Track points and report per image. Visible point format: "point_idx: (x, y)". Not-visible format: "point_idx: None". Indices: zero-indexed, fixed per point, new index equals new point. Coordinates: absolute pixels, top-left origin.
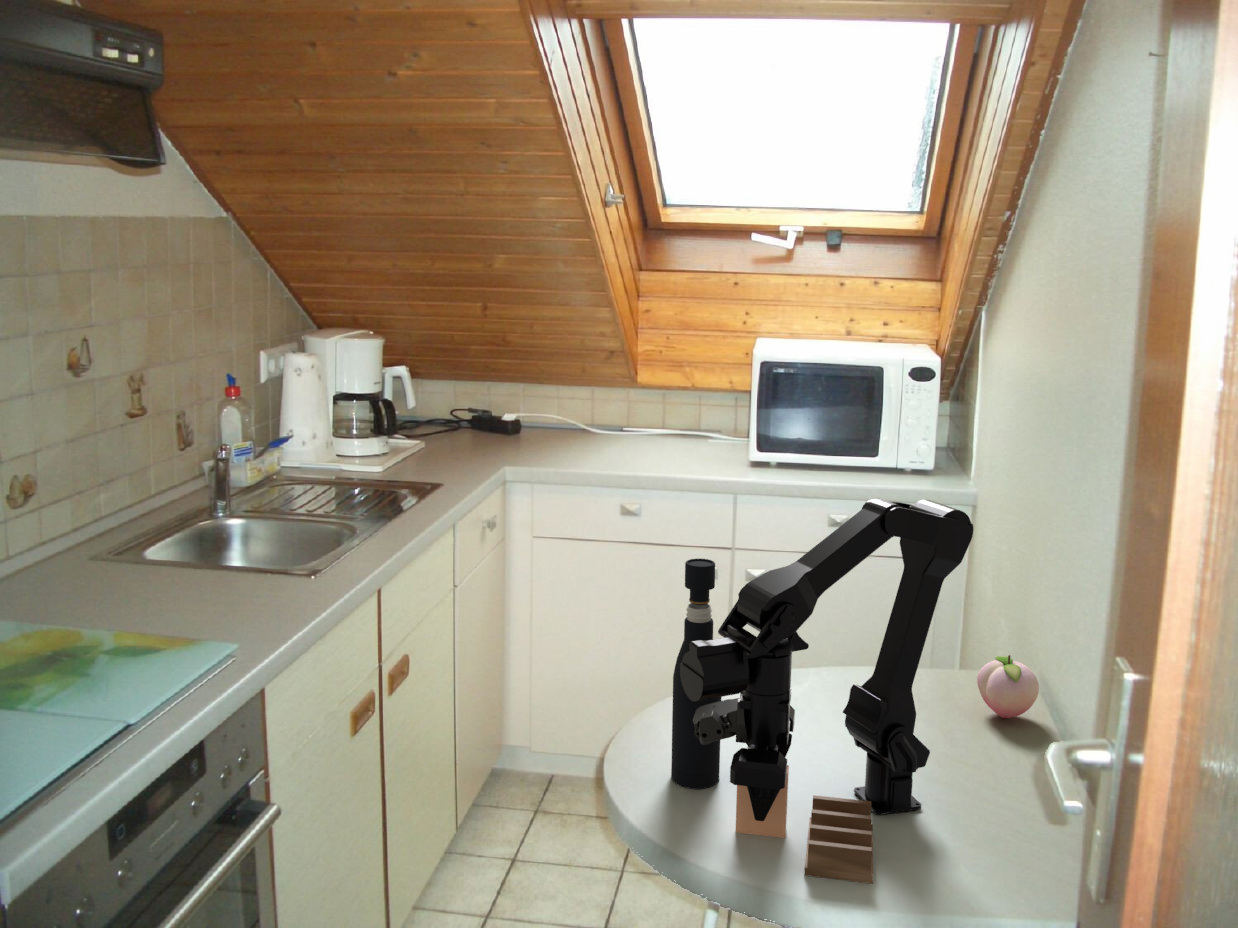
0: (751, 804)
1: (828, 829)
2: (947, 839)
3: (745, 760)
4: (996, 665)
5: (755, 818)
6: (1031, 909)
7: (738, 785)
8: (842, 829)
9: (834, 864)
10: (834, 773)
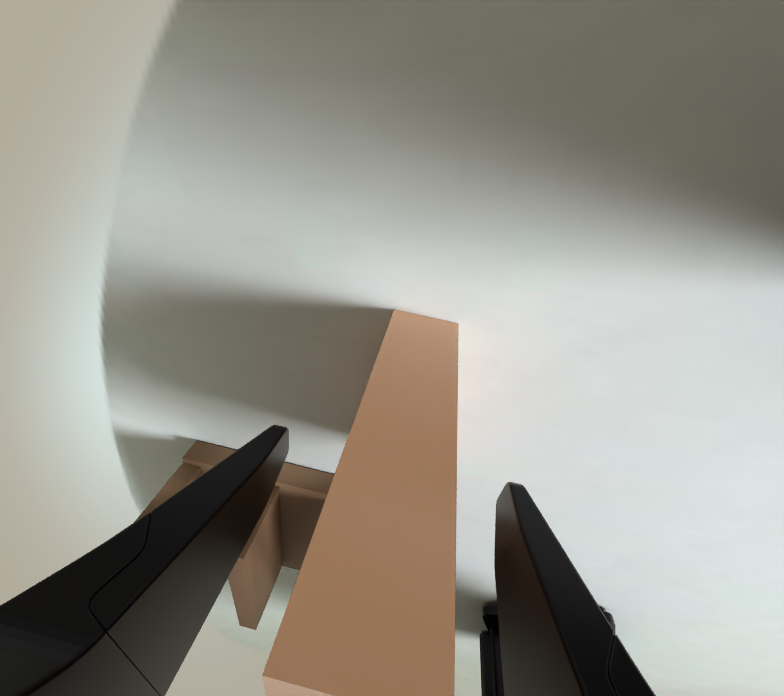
0: (196, 479)
1: (230, 579)
2: None
3: None
4: None
5: (269, 429)
6: (229, 628)
7: (331, 488)
8: (244, 598)
9: None
10: (742, 611)
